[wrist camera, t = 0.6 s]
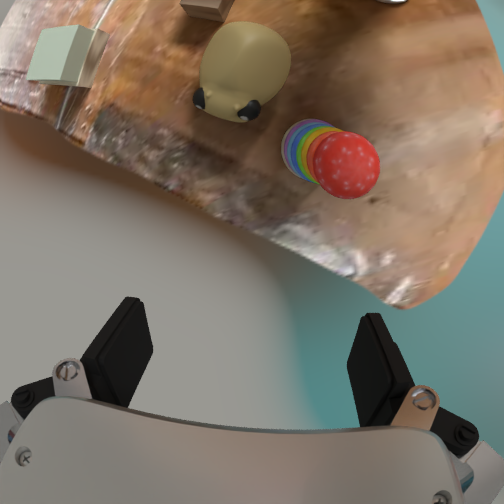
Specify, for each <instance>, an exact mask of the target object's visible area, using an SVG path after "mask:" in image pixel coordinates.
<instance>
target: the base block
mask: <svg viewBox="0 0 504 504" xmlns="http://www.w3.org/2000/svg"><path fill="white" fill-rule="evenodd" d="M91 30H93V31H95V32H94V34H93V37H92V40H91V42H90V45H89V48H88V50H87V53H86V56H85V59H84V62H83V65H82V68H81V71H80V75H79V78H78V81H77V82H66V81H40V83H39V84H50V85H64V86H77V87H87V88H92V85H93V81H94V78H95V75H96V72H97V69H98V66H99V63H100V60H101V57H102V54H103V52H104V49H105V46H106V44H107V41H108V38H109V36H110V34H108V33H106V32H104V31H102V30H100V29H91Z"/></svg>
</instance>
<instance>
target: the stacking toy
mask: <svg viewBox="0 0 504 504" xmlns="http://www.w3.org/2000/svg"><path fill="white" fill-rule="evenodd" d="M281 154H282V158H283V161H284V163H285V165H286V166H287V168H288V169H289V170H290V171H291V172H292V173H293V174H294V175H296V176H297V177H299V178H301V179H304V180H307V181H309V182H312V183H316V184H319V185H321V187H322V188H323V189H324V190H326V191H327V192H328V193H329V194H331V195H333V196H335V197H338V198H342V199H354V198H358V197H360V196H363V195H365V194H366V193H368V192H369V191H370V190H371V189H372V188H373V186H374V185H375V184H376V182H377V179H378V177H379V173H380V161H379V157H378V154H377V152H376V150H375V148H374V147H373V145H372V144H371V143H370V142H369V141H368V140H367V139H365V138H364V137H363V136H361V135H359V134H356V133H353V132H346V131H343V130H340V129H338V128H335V127H334V126H333V125H331V124H330V123H328V122H325V121H322V120H318V119H304V120H301V121H298V122H296V123H295V124H293V125H292V126H291V127H290V128H289V129H288V130H287V131H286V133H285V134H284V136H283V139H282V143H281Z"/></svg>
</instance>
